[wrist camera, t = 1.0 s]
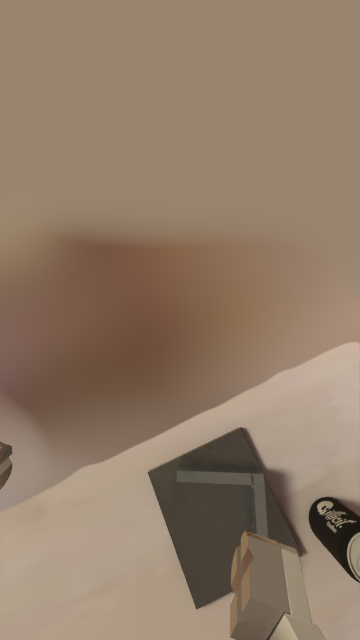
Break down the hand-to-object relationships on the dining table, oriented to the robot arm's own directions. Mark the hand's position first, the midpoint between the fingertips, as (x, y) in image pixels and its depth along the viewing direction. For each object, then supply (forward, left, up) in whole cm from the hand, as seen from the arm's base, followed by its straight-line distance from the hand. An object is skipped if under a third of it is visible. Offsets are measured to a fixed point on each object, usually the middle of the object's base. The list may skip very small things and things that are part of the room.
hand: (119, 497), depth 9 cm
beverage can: (-23, -15, -43) cm, 51 cm away
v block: (-15, +1, -43) cm, 45 cm away
